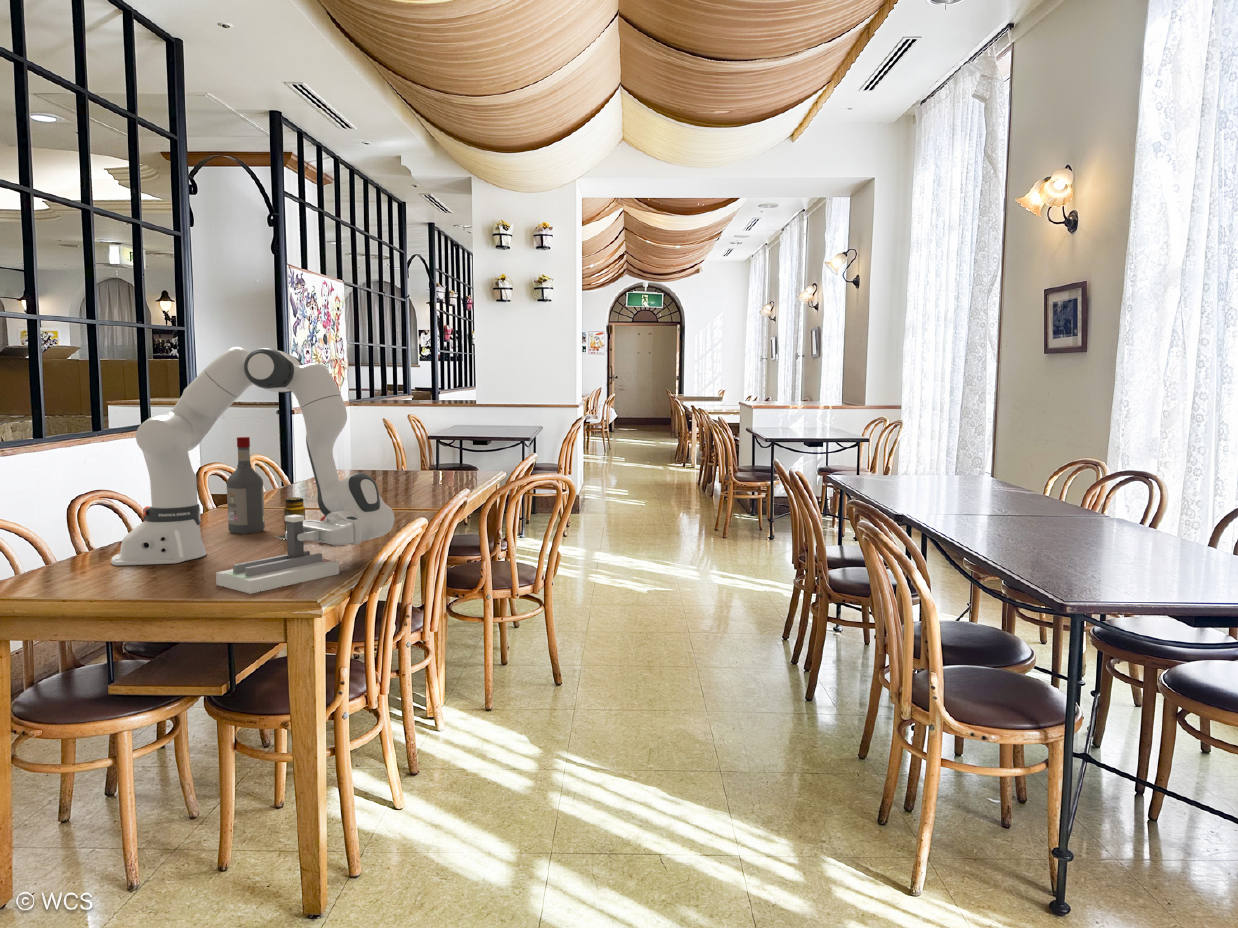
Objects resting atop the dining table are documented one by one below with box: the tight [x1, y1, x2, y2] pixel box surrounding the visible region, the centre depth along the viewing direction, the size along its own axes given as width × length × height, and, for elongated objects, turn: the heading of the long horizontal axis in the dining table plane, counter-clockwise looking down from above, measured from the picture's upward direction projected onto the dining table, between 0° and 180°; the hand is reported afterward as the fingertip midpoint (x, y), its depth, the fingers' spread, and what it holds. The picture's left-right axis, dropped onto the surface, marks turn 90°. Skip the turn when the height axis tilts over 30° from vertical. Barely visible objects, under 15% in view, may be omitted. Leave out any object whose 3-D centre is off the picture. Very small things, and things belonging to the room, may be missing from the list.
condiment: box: [274, 496, 306, 541], centre depth 255 cm, size 7×8×12 cm
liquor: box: [226, 436, 266, 535], centre depth 262 cm, size 9×9×30 cm
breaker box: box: [215, 550, 340, 595], centre depth 202 cm, size 24×14×5 cm, turn 146°
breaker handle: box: [284, 515, 305, 559], centre depth 205 cm, size 3×4×12 cm
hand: (292, 536), depth 204 cm, fingers closed on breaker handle, 3 cm apart
